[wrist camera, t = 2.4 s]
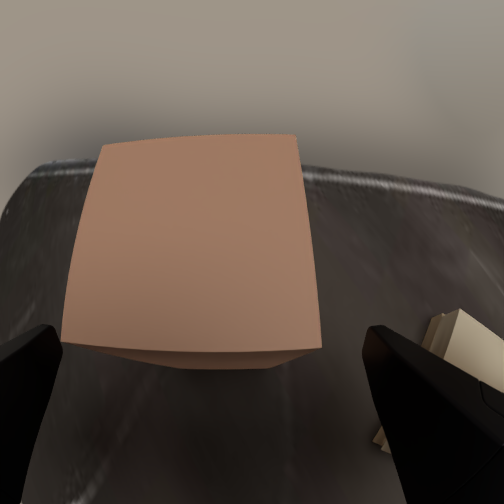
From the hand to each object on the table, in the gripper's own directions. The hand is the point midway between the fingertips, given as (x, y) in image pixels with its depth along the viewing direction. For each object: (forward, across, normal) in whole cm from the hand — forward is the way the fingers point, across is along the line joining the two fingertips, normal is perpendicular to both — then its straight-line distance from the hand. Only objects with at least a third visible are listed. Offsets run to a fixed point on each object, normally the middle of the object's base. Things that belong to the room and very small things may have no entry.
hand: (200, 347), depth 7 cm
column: (+8, 0, +5) cm, 10 cm away
